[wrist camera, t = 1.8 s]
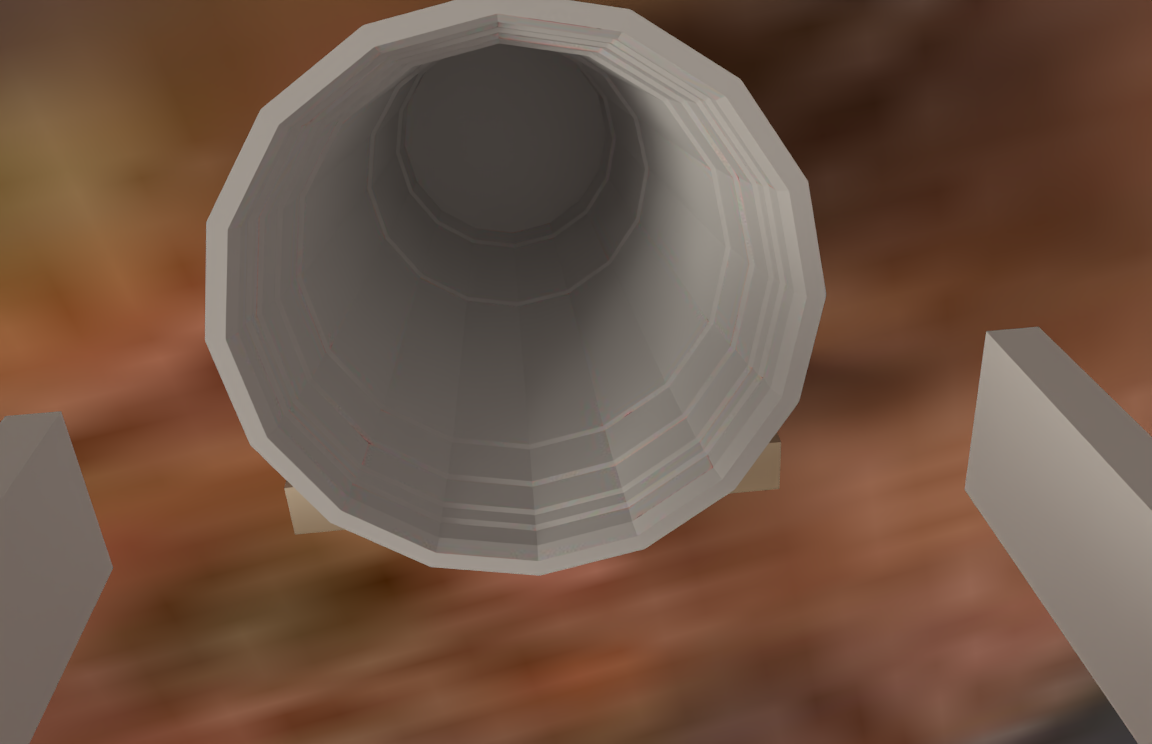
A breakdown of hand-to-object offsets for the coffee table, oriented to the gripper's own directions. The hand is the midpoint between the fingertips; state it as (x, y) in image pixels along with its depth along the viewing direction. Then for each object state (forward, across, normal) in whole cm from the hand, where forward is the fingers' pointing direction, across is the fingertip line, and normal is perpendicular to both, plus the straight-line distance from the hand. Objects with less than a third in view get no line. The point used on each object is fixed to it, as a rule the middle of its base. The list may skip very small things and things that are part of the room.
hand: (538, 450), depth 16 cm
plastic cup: (+16, 0, 0) cm, 16 cm away
